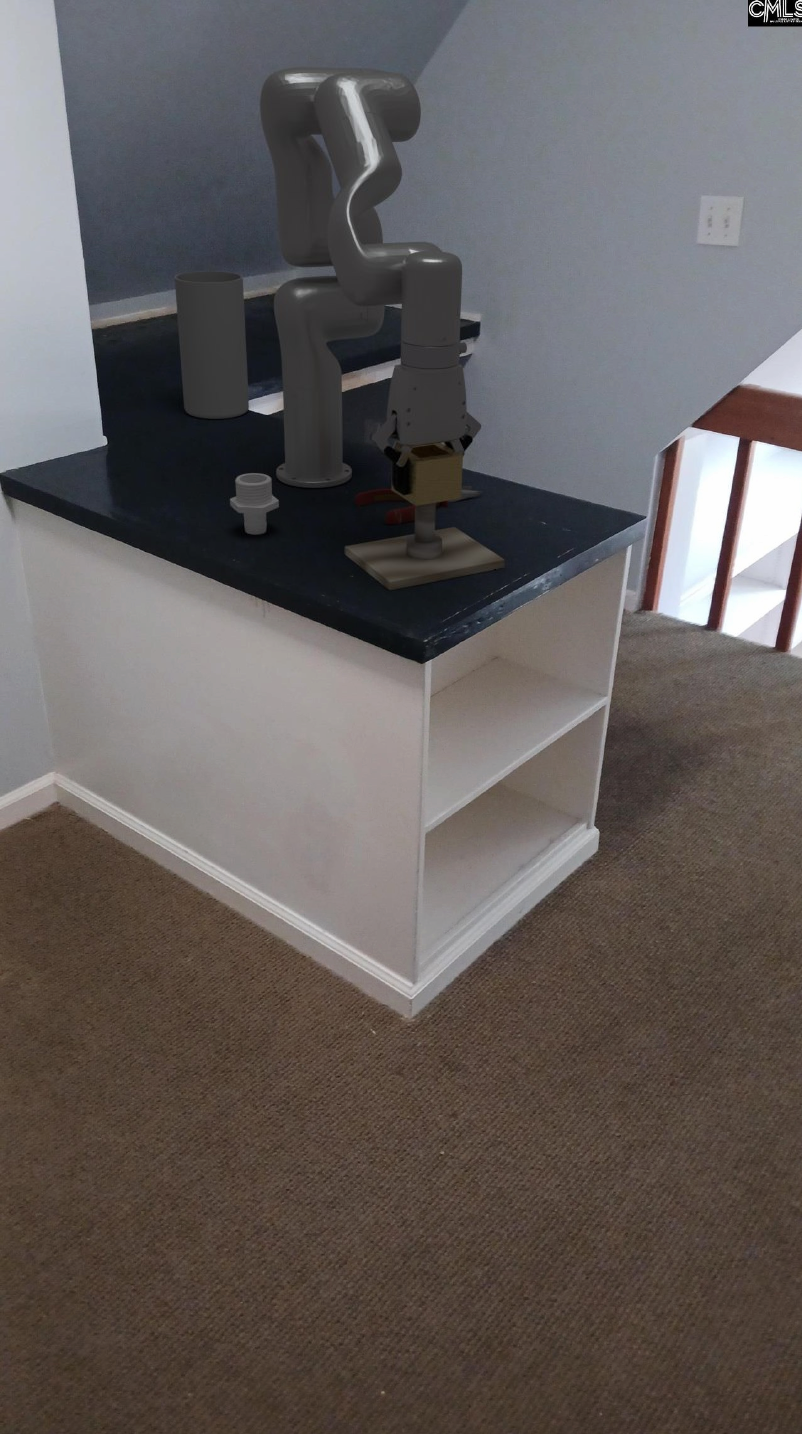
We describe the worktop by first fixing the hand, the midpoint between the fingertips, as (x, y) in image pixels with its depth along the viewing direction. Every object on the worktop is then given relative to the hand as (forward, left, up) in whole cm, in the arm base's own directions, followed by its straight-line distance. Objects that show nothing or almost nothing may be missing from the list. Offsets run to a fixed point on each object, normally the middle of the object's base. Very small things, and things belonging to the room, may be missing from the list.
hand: (425, 487), depth 159 cm
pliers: (-19, +10, -12) cm, 25 cm away
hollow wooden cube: (0, 0, -1) cm, 1 cm away
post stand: (0, 0, -11) cm, 11 cm away
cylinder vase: (-84, 0, -11) cm, 85 cm away
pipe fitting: (-21, -17, -11) cm, 29 cm away
